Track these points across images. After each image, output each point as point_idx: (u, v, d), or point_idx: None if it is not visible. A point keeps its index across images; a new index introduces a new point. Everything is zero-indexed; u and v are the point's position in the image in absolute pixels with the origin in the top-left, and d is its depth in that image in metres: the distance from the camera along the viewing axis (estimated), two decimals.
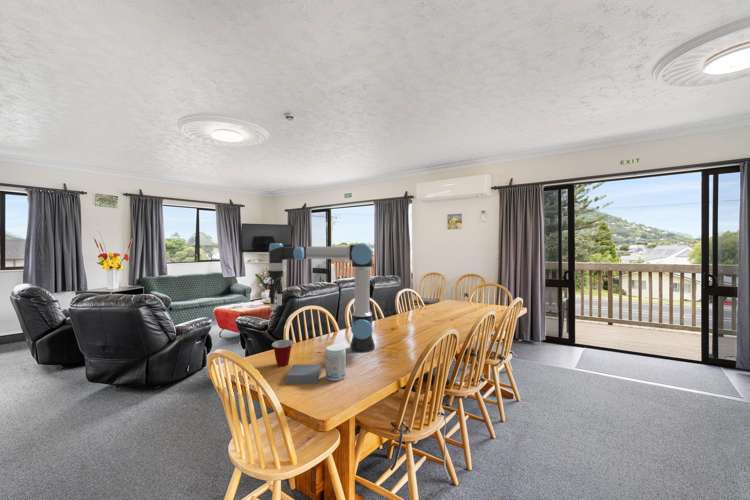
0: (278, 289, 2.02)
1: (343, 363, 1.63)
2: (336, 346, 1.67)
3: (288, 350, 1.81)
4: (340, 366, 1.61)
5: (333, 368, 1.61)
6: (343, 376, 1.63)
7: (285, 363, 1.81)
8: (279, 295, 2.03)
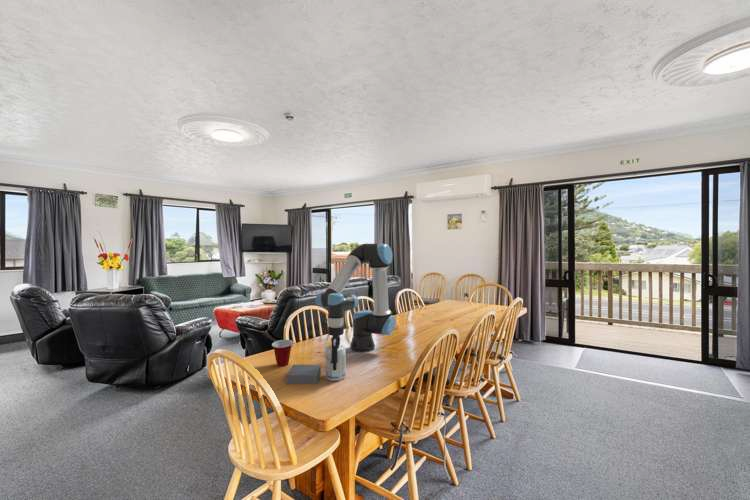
0: None
1: (343, 363, 1.63)
2: None
3: (288, 350, 1.81)
4: (340, 366, 1.61)
5: None
6: (343, 376, 1.63)
7: (285, 363, 1.81)
8: None
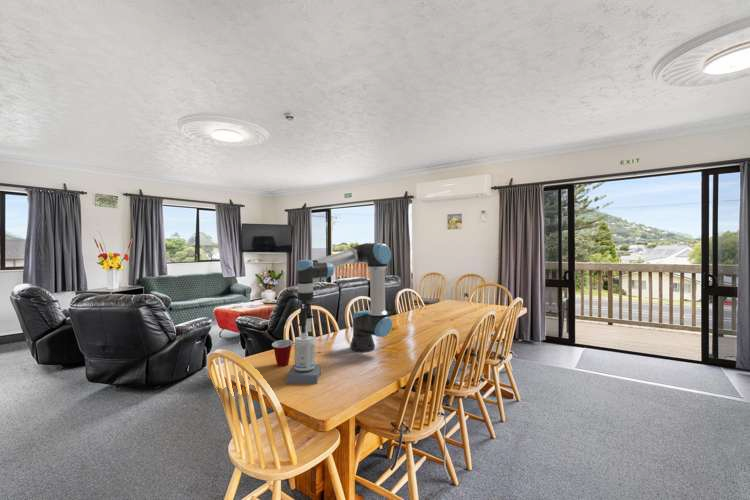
0: (307, 313, 1.72)
1: (311, 353, 1.63)
2: None
3: (288, 350, 1.81)
4: (308, 356, 1.62)
5: (301, 357, 1.61)
6: (311, 366, 1.63)
7: (285, 363, 1.81)
8: (308, 320, 1.74)
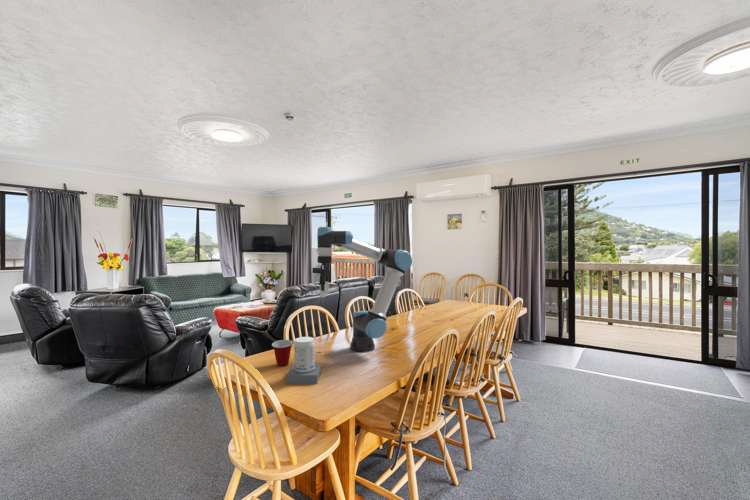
0: (325, 276, 1.90)
1: (311, 355, 1.62)
2: (305, 338, 1.66)
3: (288, 350, 1.81)
4: (308, 358, 1.61)
5: (301, 360, 1.60)
6: (311, 368, 1.63)
7: (285, 363, 1.81)
8: (326, 282, 1.92)
